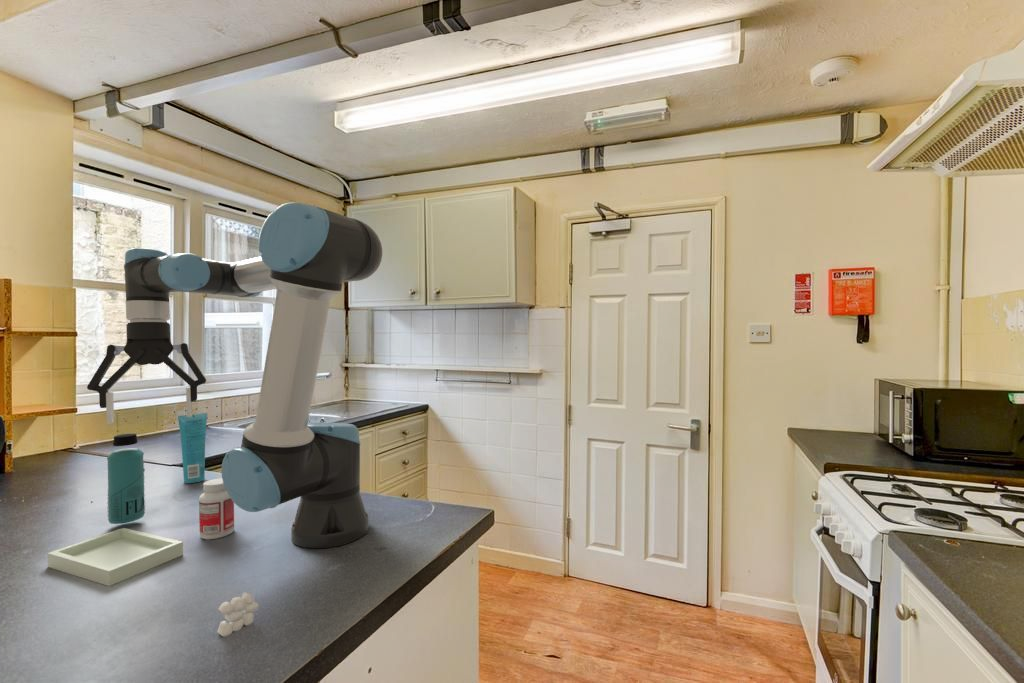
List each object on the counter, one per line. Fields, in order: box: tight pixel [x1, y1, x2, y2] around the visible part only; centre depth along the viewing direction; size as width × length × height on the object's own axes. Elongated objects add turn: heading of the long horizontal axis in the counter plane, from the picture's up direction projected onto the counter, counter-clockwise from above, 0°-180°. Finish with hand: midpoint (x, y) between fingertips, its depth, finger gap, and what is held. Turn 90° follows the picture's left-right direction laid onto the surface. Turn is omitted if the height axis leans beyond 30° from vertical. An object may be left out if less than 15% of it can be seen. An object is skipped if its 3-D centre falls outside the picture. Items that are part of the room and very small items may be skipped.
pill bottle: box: [198, 477, 235, 540], centre depth 99 cm, size 6×6×11 cm
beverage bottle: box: [106, 433, 146, 525], centre depth 103 cm, size 6×7×20 cm
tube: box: [177, 412, 208, 484], centre depth 135 cm, size 7×5×19 cm, turn 152°
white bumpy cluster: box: [216, 591, 260, 638], centre depth 67 cm, size 5×1×4 cm, turn 148°
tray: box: [47, 527, 184, 587], centre depth 87 cm, size 18×12×2 cm, turn 68°
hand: (151, 419), depth 102 cm, fingers open, 13 cm apart
